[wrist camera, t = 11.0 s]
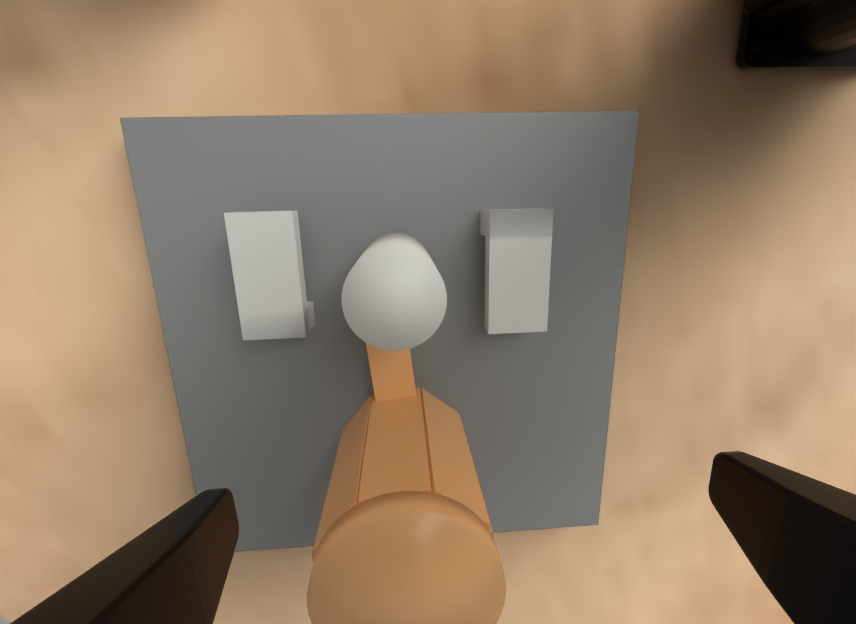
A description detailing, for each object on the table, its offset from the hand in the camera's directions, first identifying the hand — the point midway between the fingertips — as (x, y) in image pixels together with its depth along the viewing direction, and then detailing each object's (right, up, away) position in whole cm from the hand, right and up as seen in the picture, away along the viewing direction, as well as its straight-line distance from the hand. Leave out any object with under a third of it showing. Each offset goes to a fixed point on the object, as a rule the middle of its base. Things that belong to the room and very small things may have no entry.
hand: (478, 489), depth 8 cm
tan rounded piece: (-2, -3, +12) cm, 13 cm away
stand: (-2, +2, +12) cm, 13 cm away
